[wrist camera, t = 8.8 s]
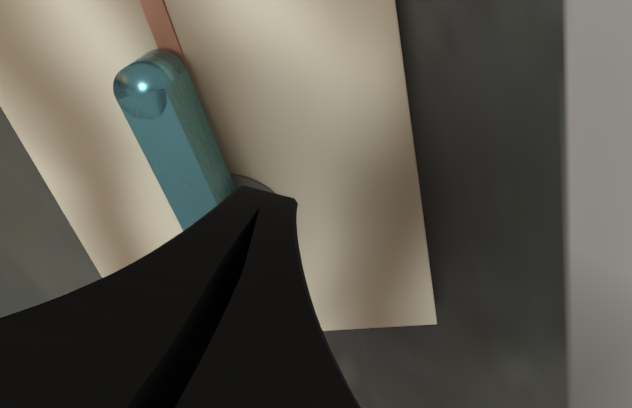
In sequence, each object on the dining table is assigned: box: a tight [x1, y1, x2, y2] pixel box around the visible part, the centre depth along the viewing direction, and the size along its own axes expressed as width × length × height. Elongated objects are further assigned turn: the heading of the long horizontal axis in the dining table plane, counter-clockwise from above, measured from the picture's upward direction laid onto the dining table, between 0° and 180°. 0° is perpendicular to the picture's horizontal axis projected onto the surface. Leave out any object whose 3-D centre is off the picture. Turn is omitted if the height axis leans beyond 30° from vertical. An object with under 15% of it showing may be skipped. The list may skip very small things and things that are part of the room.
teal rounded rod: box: [113, 49, 236, 231], centre depth 18 cm, size 9×2×2 cm, turn 16°
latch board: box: [0, 0, 437, 331], centre depth 21 cm, size 16×18×2 cm
